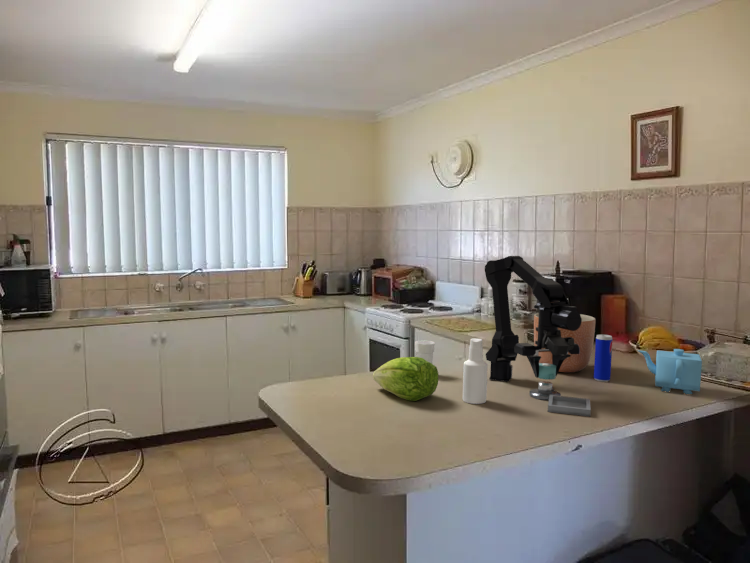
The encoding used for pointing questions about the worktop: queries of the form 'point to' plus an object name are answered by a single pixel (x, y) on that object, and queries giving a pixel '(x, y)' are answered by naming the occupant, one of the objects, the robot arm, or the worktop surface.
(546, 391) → the round metal saucer
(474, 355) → the spray bottle
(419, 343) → the cup
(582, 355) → the planter
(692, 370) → the teapot
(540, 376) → the teal rounded toy
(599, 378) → the beverage can
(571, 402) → the tray
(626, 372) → the worktop surface
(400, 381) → the lettuce
